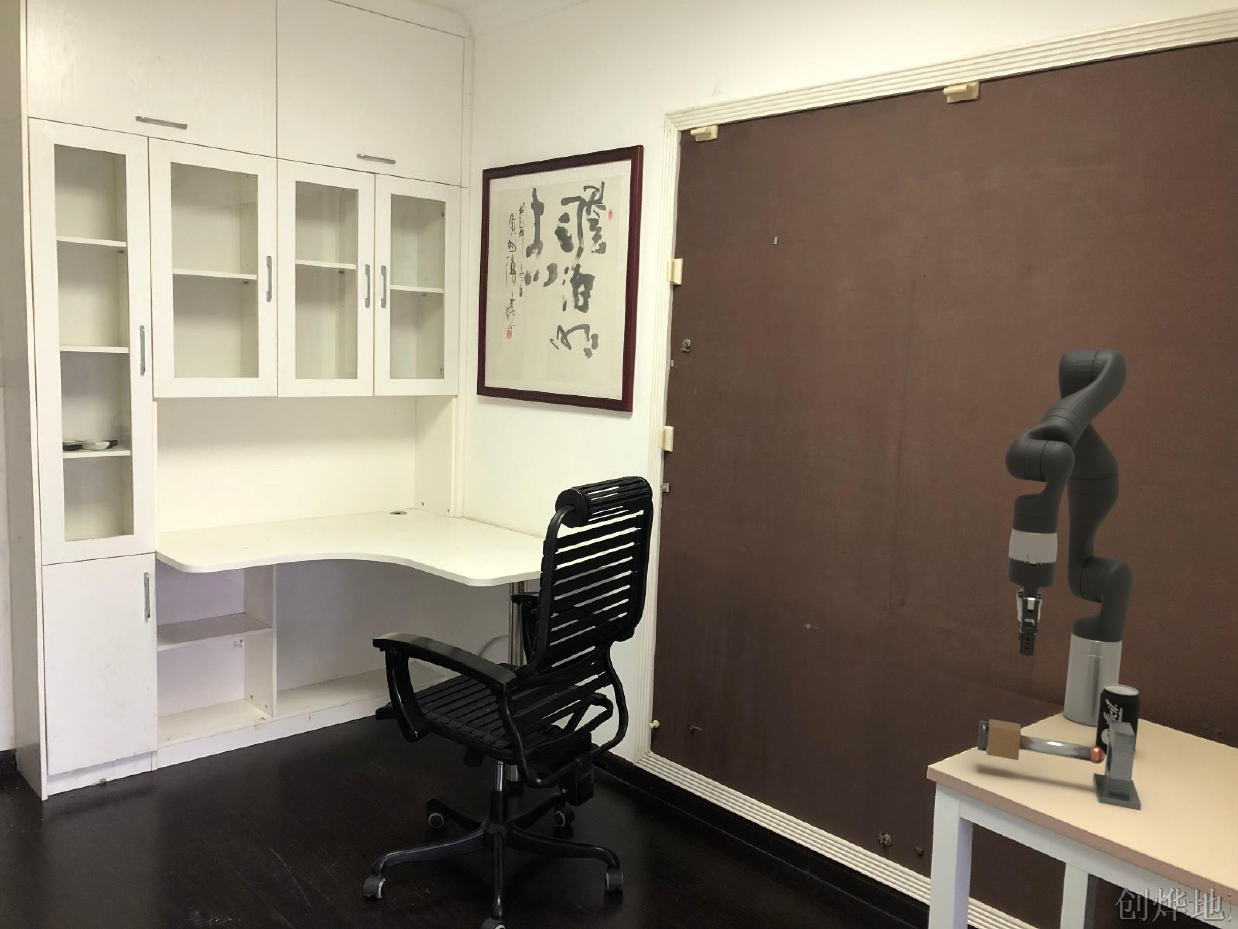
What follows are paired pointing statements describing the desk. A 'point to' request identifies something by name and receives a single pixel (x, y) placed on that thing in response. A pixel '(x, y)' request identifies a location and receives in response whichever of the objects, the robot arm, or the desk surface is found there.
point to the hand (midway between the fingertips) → (1025, 647)
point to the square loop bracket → (1118, 768)
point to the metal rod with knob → (1029, 743)
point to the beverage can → (1116, 711)
